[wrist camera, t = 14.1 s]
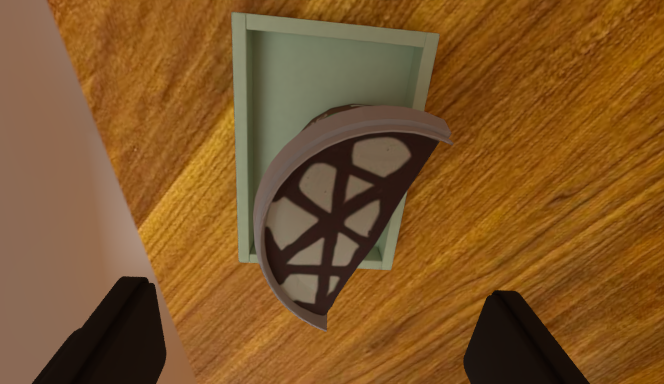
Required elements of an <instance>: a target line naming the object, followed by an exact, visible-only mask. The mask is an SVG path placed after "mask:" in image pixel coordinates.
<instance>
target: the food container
mask: <svg viewBox="0 0 664 384" xmlns="http://www.w3.org/2000/svg"><path fill="white" fill-rule="evenodd" d="M451 134H452V133H451V132H450V130H449V128H448V126H447V124H446V122H445V120H444V119H441V118H439V117H436V116H434V115H432V114H429V113H427V112H424V111H420V110H416V109H412V108H407V107H400V106H387V105H380V106H372V105H363V104H348V105H344V106H339V107H334V108H330V109H329V110H327V111H325V112H324V113H322V114H320V115H318V116H317V117H315V118H313V119H312V120H311V121H310V122H309V123H308V124H307V125H306V126H305V127H304V128H303V130H302V131H301V132H300V133H299V134H298V135H296V136H295V137H294V138H293V139H292V140H291V141H290V142H288V143H287V144H286V145H285V146H284V147H283V148H282V149H281V151H280V152H279V153H278V154H277V155H276V157H275V158H274V159H273V160H272V162H271V163H270V165H269V167H268V169H267V170H266V172H265V174H264V176H263V177H262V180H261V182H260V185H259V188H258V191H257V194H256V198H255V204H254V211H253V226H254V242H255V249H256V253H257V258H258V262H259V264H260V267H261V269H262V272H263V274H264V276H265V278H266V280H267V283H268V284H269V286H270V288H271V289H272V291H273V292H274V294H275V295H276V297H277V298H278V299H279V300H280V301H281V302H282V304H283V305H284V306H285V307H286V308H287V309H288V310H290V311H291V312H292V313H293V314H295V315H296V316H297V317H298V318H300V319H301V320H303V321H305V322H307V323H308V324H310V325H312V326H314V327H316V328H319V329H321V330H323V331H327V312H328V310H329V309H330V308H331V307H332V305H333V303H334V301H335V299H336V297H337V296H338V294H339V292H340V291H341V290H342V288H343V287H344V285H345V284H346V282H347V281H348V279H349V278H350V277H351V275H352V274H353V272H354V271H355V270H356V268H357V267H358V266H359V265H360V263H361V262H362V261H363V260H364V258H365V257H366V256H367V255H368V253H369V252H370V251H371V249H372V248H373V247H374V245H375V244H376V243H377V241H378V239H379V238H380V236H381V234H382V232H383V231H384V229H385V227H386V226H387V224H388V222H389V220H390V218H391V217H392V215H393V213H394V211H395V210H396V208H397V206H398V205H399V203H400V201H401V200H402V198H403V196H404V195H405V193H406V192H407V190H408V189H409V187H410V186H411V184H412V183H413V181H414V179H415V178H416V176H417V175H418V173H419V172H420V170H421V169H422V167H423V166H424V164H425V163H426V161H427V160H428V158H429V157H430V155H431V154H432V152H433V151H434V149H435V148H436V146H437V145H438V143H439V142H440V141H439V140H441V141H443V142H445V143H448V144H450V145H453V144H454V143H453V142H452V141H451V140H450V139H449V137H450V135H451Z"/></svg>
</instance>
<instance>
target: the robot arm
mask: <svg viewBox="0 0 664 384" xmlns="http://www.w3.org/2000/svg"><path fill="white" fill-rule="evenodd" d="M165 360H166V347H165V341H164V335H163V330H162V324H161V318H160V312H159V307H158V300H157V295H156V289H155V285H154V284H153V283H149V281H148V279H147V278H146V277H126V276H123V277H121V278H120V279H119V280H118V281H117V282H116V284H115V285H114V286H113V287H112V289H111V290H110V291H109V293H108V294H107V295H106V296H105V298H104V299H103V300H102V302H101V303H100V304H99V306H98V307H97V308H96V309H95V311H94V312H93V313H92V315H91V316H90V317H89V319H88V320H87V321H86V322H85V324H84V325H83V327H82V328H79V329H78V330H76V331H74V332H73V333H72V334H71V335H70V336H69V337H68V338H67V340H66V341H65V342H64V343H63V345H62V346H61V347H60V349H59V350H58V351H57V352H56V354H55V355H54V356H53V357H52V359H51V360H50V361H49V363H48V364H47V365H46V366H45V368H44V369H43V370H42V371H41V373H40V374H39V375H38V376H37V378H36V379H35V380H34V382H33V383H32V384H156V383H157V381H158V378H159V376H160V374H161V371H162V369H163V367H164V364H165ZM463 363H464V369H465V372H466V374H467V376H468V378H469V381H470V383H471V384H590V383H589V382H588V381H587V379H586V378H585V377H584V376H583V374H582V373H581V372H580V370H579V369H578V368H577V367H576V365H575V364H574V363H573V361H572V360H571V359H570V358H569V356H568V355H567V354H566V352H565V351H564V350H563V349H562V347H561V346H560V345H559V344H558V342H557V341H556V340H555V338H554V337H553V336H552V335H551V333H550V332H549V331H548V329H547V328H546V327H545V326H544V324H543V323H542V322H541V320H540V319H539V318H538V317H537V315H536V314H535V313H534V312H533V310H532V309H531V308H530V306H529V305H528V304H527V303H526V301H525V300H524V299H523V297H522V296H521V295H520V294H519V293H518V292H516V291H503V290H495V291H494V292H493V293H492V295H489V296H488V297H487V298H486V301H485V303H484V306H483V309H482V311H481V314H480V316H479V319H478V322H477V324H476V327H475V329H474V332H473V335H472V337H471V340H470V342H469V345H468V348H467V350H466V353H465V355H464V360H463Z"/></svg>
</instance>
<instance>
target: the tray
mask: <svg viewBox="0 0 664 384" xmlns="http://www.w3.org/2000/svg"><path fill="white" fill-rule="evenodd" d="M231 17H232V51H233V85H234V119H235V152H236V186H237V220H238V253H239V262H247V263H248V262H250V263H259V262H258V258H257V253H256V249H255V242H254V226H253V211H254V204H255V198H256V194H257V191H258V188H259V185H260V182H261V180H262V177H263V176H264V174H265V172H266V170H267V169H268V167H269V165H270V163H271V162H272V160H273V159H274V158H275V157H276V155H277V154H278V153H279V152H280V151H281V149H282V148H283V147H284V146H285V145H286V144H287V143H288V142H290V141H291V140H292V139H293V138H294V137H295V136H296V135H298V134H299V133H300V132H301V131H302V130H303V128H304V127H305V126H306V125H307V124H308V123H309V122H310V121H311V120H312V119H313V118H315V117H317V116H318V115H320V114H322V113H324V112H325V111H327V110H329V109H330V108H334V107H339V106H344V105H348V104H363V105H372V106H380V105H387V106H400V107H407V108H412V109H416V110H420V111H424V108H425V104H426V99H427V94H428V89H429V84H430V80H431V75H432V70H433V65H434V60H435V55H436V51H437V46H438V41H439V36H440V34H439V33H429V32H420V31H410V30H401V29H391V28H382V27H373V26H363V25H354V24H344V23H335V22H325V21H316V20H306V19H297V18H287V17H278V16H269V15H259V14H250V13H240V12H232V13H231ZM406 195H407V192H406V193H405V195H404V196H403V198H402V200H401V201H400V203H399V205H398V206H397V208H396V210H395V211H394V213H393V215H392V217H391V218H390V220H389V222H388V224H387V226H386V227H385V229H384V231H383V232H382V234H381V236H380V238H379V239H378V241H377V243H376V244H375V245H374V247H373V248H372V249H371V251H370V252H369V253H368V255H367V256H366V257H365V258H364V260H363V261H362V262H361V263H360V265H359V266H358V267H357V268H364V269H381V270H391V267H392V263H393V258H394V253H395V248H396V243H397V239H398V234H399V229H400V224H401V219H402V214H403V210H404V205H405V200H406Z"/></svg>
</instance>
